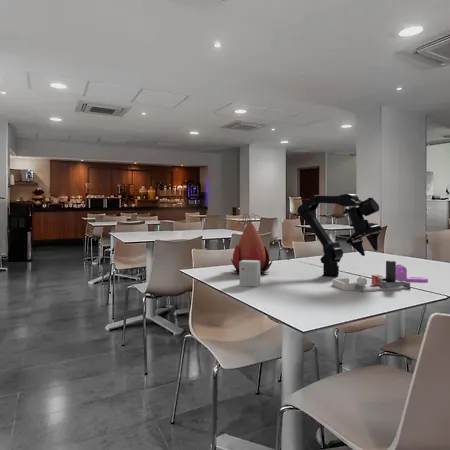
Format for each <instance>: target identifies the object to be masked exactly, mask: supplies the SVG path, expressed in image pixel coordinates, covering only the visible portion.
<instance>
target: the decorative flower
mask: <svg viewBox="0 0 450 450" xmlns="http://www.w3.org/2000/svg"><path fill="white" fill-rule="evenodd" d="M246 216H248V218H247V217H246ZM250 216H253V217H256V216H257V217H258V218H259V222H260V223H261V222H262V220H261V217H260V216H259V215H258V214H255V213H251V215H249V213H244V214H243V216H242V217H240V218H239V219H238V224H237V225H240V219H242V221H248V222H247V224H246V226H245V228H244V229H243V232H242V234H241V236H240V239H239V242H238V243H236V245H235V247H234V250H233V254H232V258H231V259H230V261H231V263H232V265H233V267H234V269H230V270H231V271H233V272H237V273H239V272H238V271H239V262H240V261H242V260H260V274H266V273H269V271H268V270H269V269H270V267H271V265H272V263H273V260H271V261H270V252H269V251H268V248H267V247H266V245H264V243H263V241H262V237H261V236H260V234H259V232H258V230H257V228H256V227H255V225H254V224H253V223H252V218H253V217H250ZM244 218H245V219H244ZM254 221H256V218H254ZM235 269H236V270H235ZM237 270H238V271H237Z"/></svg>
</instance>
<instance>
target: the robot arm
mask: <svg viewBox="0 0 450 450" xmlns="http://www.w3.org/2000/svg"><path fill="white" fill-rule="evenodd" d="M320 204H334V205H335V204H336V205H338V206H342V207H346V208H345V209H344V211H343V212H342V215H348V217H349V221H350V222H351V224H349V225H350V226H349V227H350V228H352V229H353V231H354V233H353V235H351V236H348V237H347V238H346V239H345V240H346V244H347V245H349V246H352V247H353V248H354V249H355V250H356V251H357V252H358V254H360V255H361V256H362V257H365V255H366V254H365V249H364V245H363V242H364V240H363V238H364V237H365V238H366V240H367V241H368V243H369V244H370V246H371V247H372V249H373V250H374V251H376V252H377V251H378V250H379V243H378V237H379V235H380V234H381V231H383V229H382V226H380V225H379V224H378V223H373V222H369V220H368V219H365V218H364V217H368V216H371V215H374V214H375V213H377V212H379V211H380V206H379V203H378V202H377V201H376V200H375V199H374V197H368V198H367V199H364V200H361V199H360V198H359V196H358V195H357V194H356V193H344V194H340V195H319V194H313V195H311V196H310V197H309V198H308V199H306V200H305V201H303V203H302V204H301V205H299V206H298V207H297V211H296V213H297V216H299V217H300V218H301V220H303V221H304V222H306V223H307V224H308V225H309V227H310V229H311V230H312V232H313V233H314V235H315V236H316V238H317V239H318V241H319V242H320V244H321V245H322V251H323V254H324V255H322V257H321V258H320V262H321V263H320V264H322V265H323V266H322V267H323V274H322V277H332V278H333V277H337V278H338V275H339V273H340V266H339V265H338V263H340V262H341V259H342V258H343V257H344V251H343V247H341V245H340V243H339V242H338V241H333V240H332V239H331V237H330V236H329V235H328V233H327V232H326V230H325V229H324V227H323V225H322V224H321V223H320V221H319V220H318V218H317V213H316V210H317V209H318V208H319V205H320ZM348 207H350V208H348Z"/></svg>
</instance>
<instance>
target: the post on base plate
mask: <svg viewBox="0 0 450 450" xmlns="http://www.w3.org/2000/svg"><path fill="white" fill-rule="evenodd" d="M396 265H397V262H396V261H395V260H385V276H383V275H380V274H371V285H374V286H379V287H380V286H382V287H385V288H388V287H401V281H397V280H396Z"/></svg>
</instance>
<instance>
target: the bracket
mask: <svg viewBox="0 0 450 450" xmlns="http://www.w3.org/2000/svg"><path fill="white" fill-rule="evenodd" d="M407 275H408V269H407V267H405V265H403V264H400V263H396V280H397V281H405V282H409V283H428V282H429V278H428V277H424V276H407Z"/></svg>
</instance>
